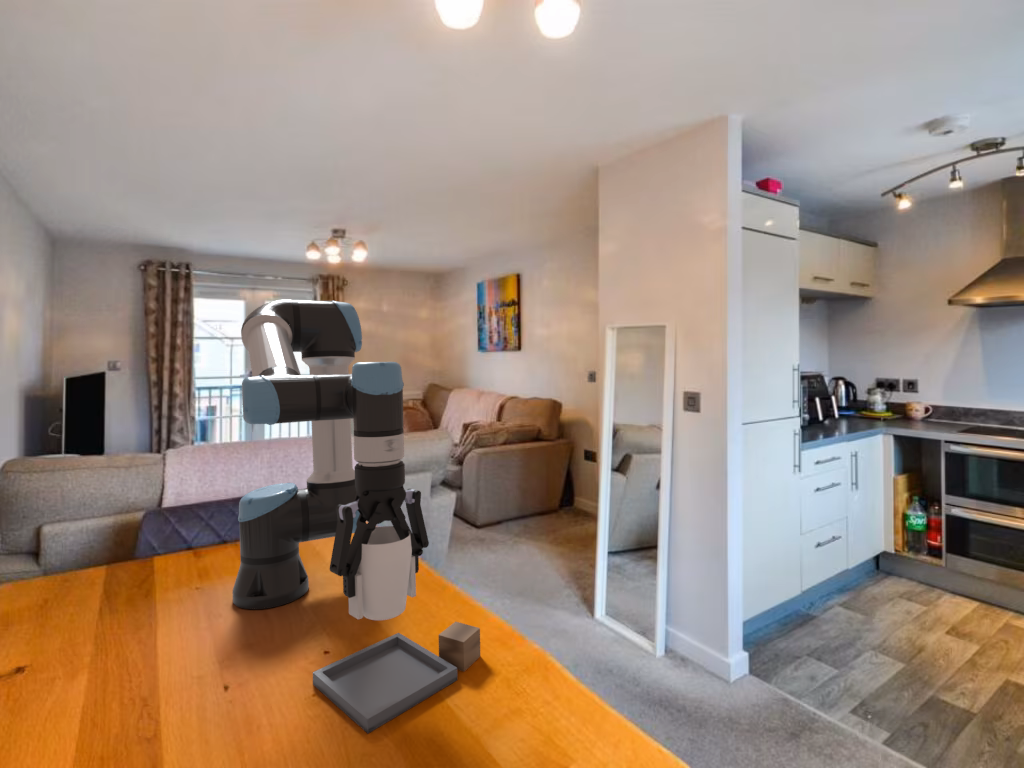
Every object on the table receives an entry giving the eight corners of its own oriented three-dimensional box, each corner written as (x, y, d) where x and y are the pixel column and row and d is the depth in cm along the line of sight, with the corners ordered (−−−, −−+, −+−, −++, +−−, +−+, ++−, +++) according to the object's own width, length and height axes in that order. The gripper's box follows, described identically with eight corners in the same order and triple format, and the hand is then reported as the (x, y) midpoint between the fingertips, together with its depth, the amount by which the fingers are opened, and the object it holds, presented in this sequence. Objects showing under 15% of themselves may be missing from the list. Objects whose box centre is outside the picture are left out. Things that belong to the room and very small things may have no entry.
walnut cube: (439, 664, 87) (438, 634, 87) (456, 649, 92) (455, 621, 91) (464, 672, 85) (463, 642, 85) (480, 656, 89) (479, 628, 89)
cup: (399, 627, 76) (396, 546, 76) (342, 622, 78) (340, 543, 78) (421, 599, 85) (420, 527, 85) (370, 595, 87) (368, 524, 86)
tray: (313, 684, 82) (312, 672, 82) (398, 643, 94) (398, 632, 93) (367, 733, 71) (367, 719, 71) (457, 680, 83) (457, 667, 82)
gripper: (325, 476, 70) (330, 640, 71) (449, 454, 86) (452, 588, 87) (300, 469, 75) (305, 622, 76) (421, 449, 91) (424, 576, 92)
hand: (383, 604), depth 82 cm, fingers closed on cup, 9 cm apart
